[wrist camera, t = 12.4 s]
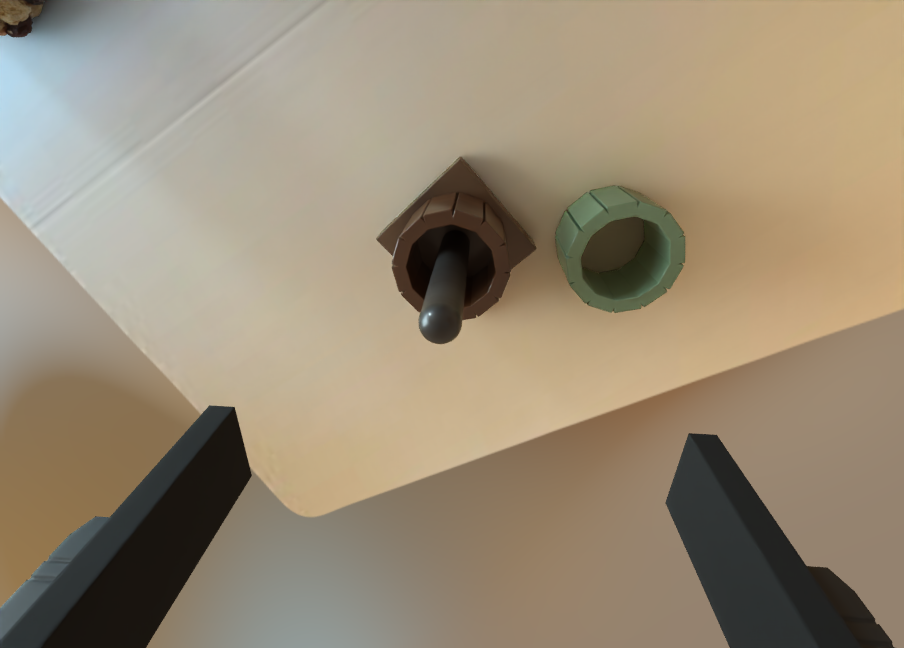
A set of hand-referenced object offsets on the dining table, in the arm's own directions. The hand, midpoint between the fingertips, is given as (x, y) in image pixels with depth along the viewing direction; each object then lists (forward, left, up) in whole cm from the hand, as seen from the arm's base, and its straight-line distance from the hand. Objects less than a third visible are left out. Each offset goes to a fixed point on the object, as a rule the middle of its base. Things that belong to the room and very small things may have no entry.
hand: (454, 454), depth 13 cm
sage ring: (-7, +6, -22) cm, 24 cm away
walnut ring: (+1, -1, -20) cm, 20 cm away
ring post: (+1, -1, -22) cm, 22 cm away
